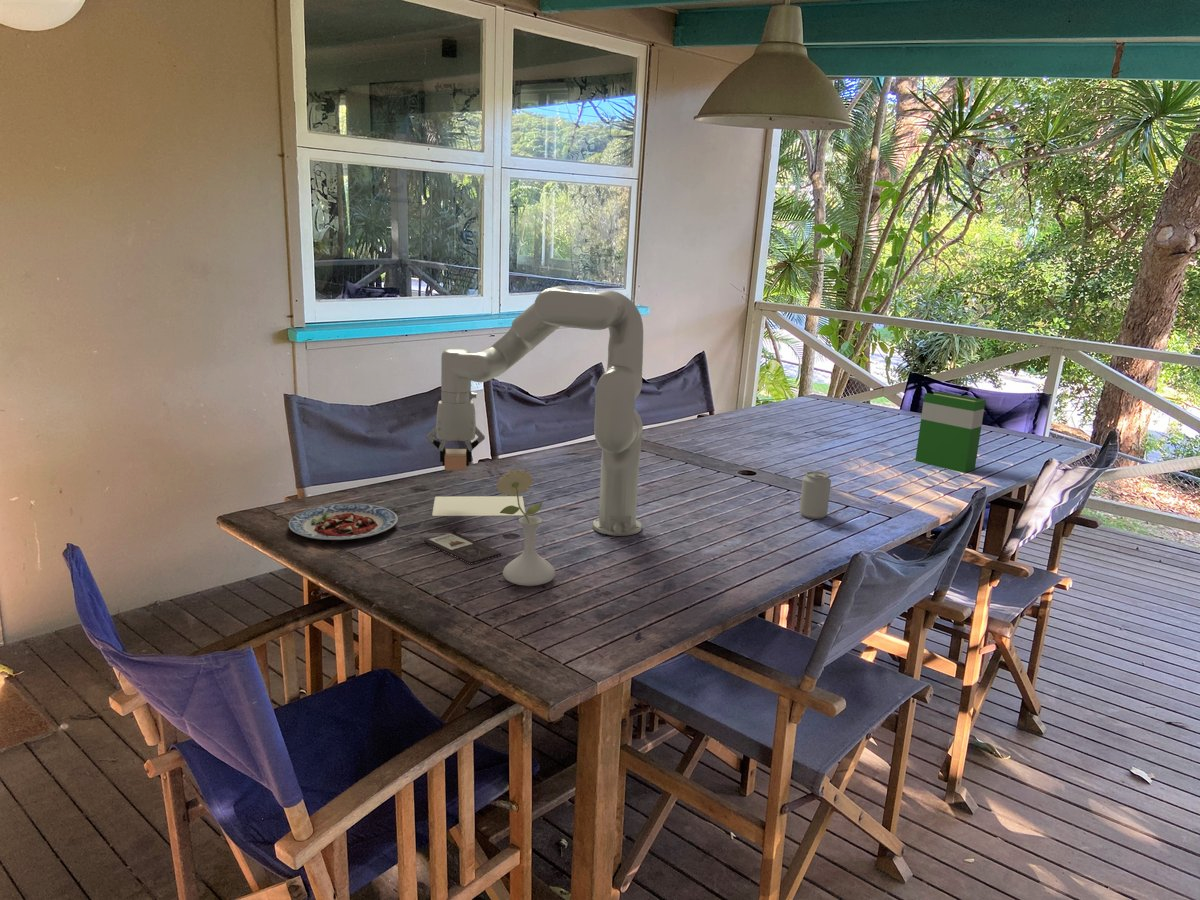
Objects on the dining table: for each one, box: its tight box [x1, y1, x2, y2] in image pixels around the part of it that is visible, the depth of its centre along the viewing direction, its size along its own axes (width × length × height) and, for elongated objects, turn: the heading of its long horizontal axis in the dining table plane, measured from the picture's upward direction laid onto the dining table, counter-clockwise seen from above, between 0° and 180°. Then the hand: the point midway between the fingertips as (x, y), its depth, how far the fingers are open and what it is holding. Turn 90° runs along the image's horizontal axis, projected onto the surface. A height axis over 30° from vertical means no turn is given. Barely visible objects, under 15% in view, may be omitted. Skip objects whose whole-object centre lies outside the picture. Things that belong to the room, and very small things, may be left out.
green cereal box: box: [914, 390, 986, 474], centre depth 291 cm, size 18×7×24 cm, turn 42°
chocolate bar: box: [423, 531, 502, 565], centre depth 202 cm, size 9×1×18 cm
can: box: [798, 470, 832, 520], centre depth 235 cm, size 8×8×12 cm
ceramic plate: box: [288, 503, 399, 541], centre depth 212 cm, size 26×26×3 cm
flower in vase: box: [495, 468, 556, 587], centre depth 182 cm, size 13×11×25 cm
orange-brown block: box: [444, 448, 467, 471], centre depth 226 cm, size 6×8×4 cm
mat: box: [431, 495, 526, 517], centre depth 230 cm, size 16×24×1 cm, turn 98°
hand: (455, 463), depth 226 cm, fingers closed on orange-brown block, 5 cm apart
